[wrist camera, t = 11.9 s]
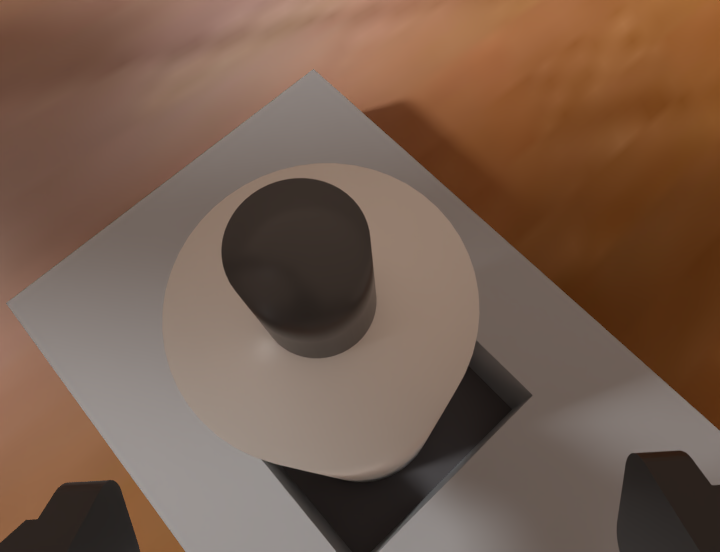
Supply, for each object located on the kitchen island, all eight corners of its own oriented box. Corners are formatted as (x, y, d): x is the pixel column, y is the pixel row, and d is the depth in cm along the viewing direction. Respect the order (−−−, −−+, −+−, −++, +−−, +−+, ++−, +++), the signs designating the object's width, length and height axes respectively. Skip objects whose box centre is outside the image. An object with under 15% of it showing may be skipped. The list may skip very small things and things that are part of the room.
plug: (292, 485, 18) (64, 471, 6) (292, 343, 19) (114, 87, 7) (438, 479, 18) (534, 449, 5) (426, 336, 19) (480, 61, 7)
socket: (59, 329, 20) (6, 303, 17) (322, 122, 22) (313, 68, 20) (433, 830, 15) (443, 909, 12) (722, 491, 17) (787, 490, 14)
